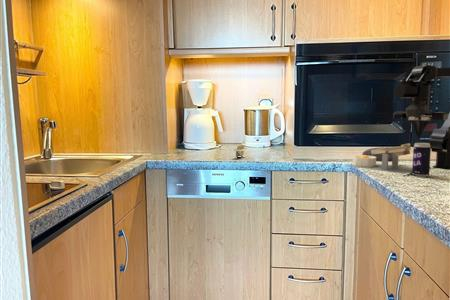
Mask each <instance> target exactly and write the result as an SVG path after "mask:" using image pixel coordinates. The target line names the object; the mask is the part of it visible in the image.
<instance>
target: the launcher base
mask: <svg viewBox="0 0 450 300" xmlns="http://www.w3.org/2000/svg"><path fill="white" fill-rule="evenodd" d="M388 156H389V155H387V154H382V161H381V164H380V163H376V166H374V167H360V166H354V165H353V163H351V164H346V165H345V166H346V167H351V168H360V169H364V170H365V169H367V170H374V171H382V172H387V173H389V172H390V173H396V174H402V177H406V176H409V175H414V174H413V173H412V167H408V166H407V167H406V166H399V156H396V154H395V152H393V153H392V161H391V164H389V161H388Z"/></svg>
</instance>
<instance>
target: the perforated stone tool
mask: <svg viewBox="0 0 450 300" xmlns="http://www.w3.org/2000/svg"><path fill="white" fill-rule="evenodd" d="M389 147H390V146H389ZM389 147H388V146H387V147H384V146H382V147H373V148H369V149H365V150H364V151H363V152H362V153H361V155H367V156H374V157H376V162H378V161H381V162H382V154H387V155H389V156H388V162H392V153H393V152H391V153H380V154H371V150H374V149H379V148H389Z"/></svg>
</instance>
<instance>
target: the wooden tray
mask: <svg viewBox="0 0 450 300" xmlns="http://www.w3.org/2000/svg"><path fill="white" fill-rule="evenodd" d="M378 148H379V147H378ZM411 151H412V148H411V143H404V144H401V145H400V146H389V148H386V147H384V148H379V149H374V150H371V154H380V153H391V152H395V154H396V156H398V157H401V156H408V155H411Z"/></svg>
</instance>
